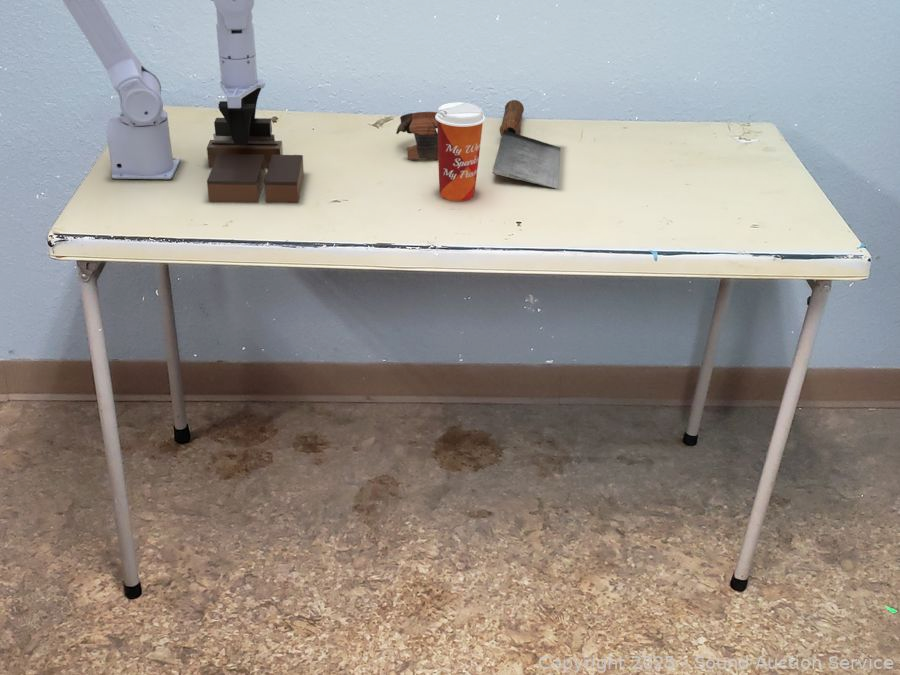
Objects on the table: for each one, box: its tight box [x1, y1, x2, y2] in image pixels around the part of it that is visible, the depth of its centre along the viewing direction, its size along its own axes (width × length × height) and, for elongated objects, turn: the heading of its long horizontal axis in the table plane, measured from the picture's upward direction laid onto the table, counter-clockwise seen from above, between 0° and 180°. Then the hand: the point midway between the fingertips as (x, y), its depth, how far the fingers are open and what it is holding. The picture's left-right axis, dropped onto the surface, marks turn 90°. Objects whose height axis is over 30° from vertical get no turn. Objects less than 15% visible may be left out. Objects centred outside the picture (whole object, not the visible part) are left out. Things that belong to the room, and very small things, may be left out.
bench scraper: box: [212, 117, 276, 146], centre depth 159 cm, size 10×2×8 cm, turn 93°
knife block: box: [206, 139, 284, 169], centre depth 160 cm, size 12×4×4 cm, turn 93°
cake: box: [206, 154, 267, 203], centre depth 151 cm, size 8×11×4 cm
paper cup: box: [435, 102, 486, 202], centre depth 149 cm, size 8×8×14 cm
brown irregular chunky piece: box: [395, 111, 438, 161], centre depth 167 cm, size 12×9×8 cm
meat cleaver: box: [491, 99, 562, 190], centre depth 170 cm, size 34×11×4 cm, turn 174°
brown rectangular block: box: [263, 154, 305, 204], centre depth 152 cm, size 5×11×4 cm, turn 3°
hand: (244, 136), depth 158 cm, fingers open, 7 cm apart
